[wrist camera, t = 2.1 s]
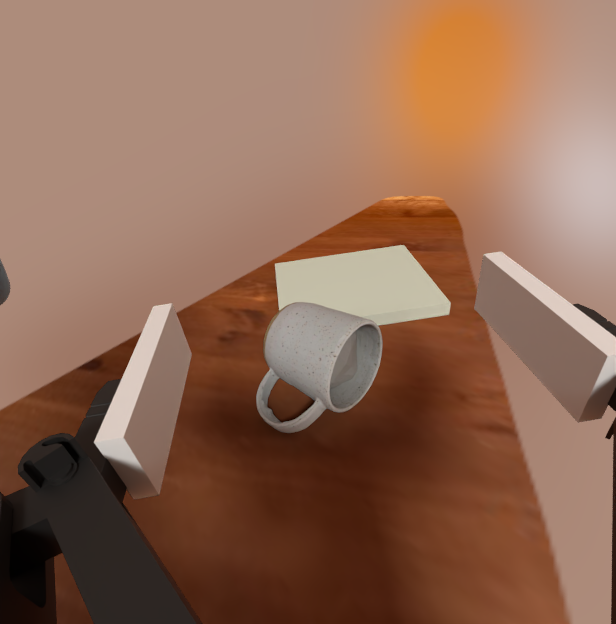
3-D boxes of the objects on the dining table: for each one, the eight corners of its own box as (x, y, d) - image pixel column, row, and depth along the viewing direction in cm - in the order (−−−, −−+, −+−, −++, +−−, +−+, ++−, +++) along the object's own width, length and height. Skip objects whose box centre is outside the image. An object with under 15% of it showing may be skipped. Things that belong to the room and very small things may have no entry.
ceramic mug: (314, 342, 38) (305, 279, 34) (384, 374, 33) (385, 304, 29) (238, 410, 32) (215, 343, 27) (310, 461, 27) (296, 389, 23)
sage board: (283, 340, 39) (280, 329, 38) (276, 273, 51) (274, 263, 50) (449, 314, 40) (450, 302, 39) (403, 254, 52) (403, 244, 51)
